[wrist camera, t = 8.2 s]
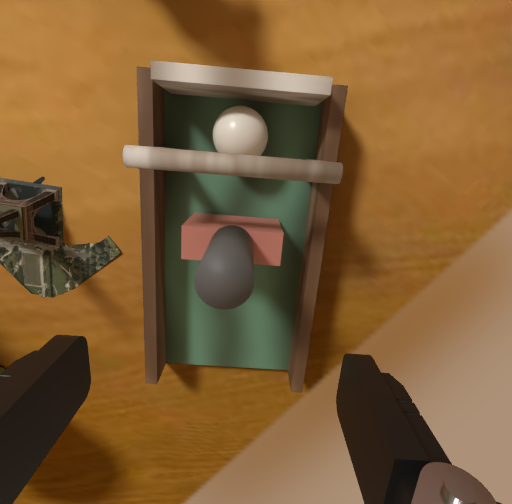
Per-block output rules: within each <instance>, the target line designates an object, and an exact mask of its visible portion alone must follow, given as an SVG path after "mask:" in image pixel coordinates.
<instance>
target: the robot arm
mask: <svg viewBox="0 0 512 504" xmlns="http://www.w3.org/2000/svg"><path fill="white" fill-rule="evenodd" d="M90 384H91V374H90V365H89V355H88V346H87V340H86V338H85V337H83V336H70V335H56V336H54V337H53V338H52V339H51V340H50V341H49V342H47V343H46V344H45V345H44V346H43V347H42V348H41V349H40V350H39V351H33V352H31V353H29V354H27V355H26V356H24V357H22V358H20V359H18V360H16V361H15V362H13V363H12V364H11V365H10V366H9V367H8V368H6V369H5V370H4V371H3V372H2V373H1V374H0V504H13V502H14V501H15V500H16V498H17V497H18V495H19V494H20V492H21V491H22V489H23V488H24V487H25V485H26V484H27V482H28V481H29V479H30V478H31V477H32V475H33V474H34V472H35V471H36V469H37V468H38V467H39V465H40V464H41V462H42V461H43V459H44V458H45V457H46V455H47V454H48V452H49V451H50V449H51V448H52V447H53V445H54V444H55V442H56V441H57V439H58V438H59V437H60V435H61V434H62V432H63V431H64V429H65V428H66V426H67V425H68V424H69V422H70V421H71V419H72V418H73V416H74V415H75V414H76V412H77V411H78V409H79V408H80V406H81V405H82V404H83V402H84V401H85V399H86V397H87V395H88V392H89V389H90ZM336 398H337V399H336V403H337V413H338V417H339V421H340V424H341V427H342V430H343V434H344V437H345V441H346V444H347V447H348V450H349V454H350V457H351V460H352V463H353V467H354V470H355V474H356V477H357V480H358V484H359V487H360V490H361V493H362V496H363V500H364V503H365V504H501V503H498V502H496V501H495V499H494V498H493V496H492V495H491V493H490V492H489V491H488V490H487V489H486V488H485V487H484V485H483V484H482V483H481V482H479V481H478V480H477V479H476V478H475V477H473V476H472V475H470V474H469V473H468V472H466V471H464V470H463V469H461V468H458V467H456V466H454V465H452V464H451V462H450V461H449V459H448V458H447V456H446V454H445V452H444V451H443V449H442V448H441V446H440V444H439V443H438V441H437V440H436V438H435V436H434V435H433V433H432V432H431V430H430V428H429V427H428V425H427V424H426V422H425V420H424V419H423V417H422V416H420V413H419V411H418V409H417V407H416V406H415V404H414V403H412V399H411V398H410V396H409V394H408V393H407V391H406V390H405V388H404V386H403V385H401V383H399V382H398V381H397V380H396V379H395V378H394V377H393V376H391V375H390V374H389V373H381V372H380V370H379V368H378V366H377V365H376V363H375V361H374V359H373V358H372V357H371V356H370V355H361V354H345V355H344V357H343V362H342V367H341V373H340V379H339V384H338V390H337V397H336Z"/></svg>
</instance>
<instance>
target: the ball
mask: <svg viewBox="0 0 512 504" xmlns="http://www.w3.org/2000/svg"><path fill="white" fill-rule="evenodd" d="M267 141H268V130H267V126H266V123H265V121H264V120H263V118H262V117H261V115H260V114H259V113H258V112H256V111H255V110H253V109H252V108H249V107H246V106H234V107H230V108H228V109H226V110H225V111H224V112H222V113H221V114H220V115H219V117H218V118H217V120H216V122H215V124H214V128H213V142H214V145H215V148H216V150H217V151H218V152H219V153H231V154H243V155H255V156H261V154H262V153H263V151H264V150H265V148H266V145H267Z"/></svg>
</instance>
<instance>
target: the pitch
mask: <svg viewBox="0 0 512 504" xmlns="http://www.w3.org/2000/svg"><path fill="white" fill-rule="evenodd" d="M332 80H333V77H327V76H316V75H305V74H294V73H283V72H272V71H261V70H250V69H240V68H229V67H218V66H207V65H196V64H185V63H174V62H163V61H153V60H151V68H146V67H137V93H138V128H139V146H134V145H125V146H124V149H123V162H124V165H125V166H126V167H130V168H140V199H141V234H142V270H143V305H144V340H145V376H146V384H157V383H158V381H159V378H160V376H161V373H162V371H163V369H164V366H165V364H166V363H177V364H193V365H210V366H227V367H244V368H260V369H277V370H288V375H289V381H290V387H291V392H302V391H303V384H304V377H305V371H306V364H307V357H308V350H309V344H310V337H311V330H312V324H313V317H314V310H315V303H316V297H317V290H318V283H319V276H320V270H321V263H322V256H323V250H324V243H325V236H326V229H327V223H328V216H329V209H330V202H331V196H332V189H333V184H340V182H341V179H342V175H343V164H342V163H340V162H337V155H338V149H339V142H340V135H341V128H342V122H343V115H344V108H345V102H346V95H347V88H348V86H344V85H332ZM234 106H246V107H249V108H252V109H253V110H255V111H256V112H258V113H259V114H260V115H261V117H262V118H263V120H264V121H265V123H266V126H267V130H268V141H267V145H266V148H265V150H264V151H263V153H262V154H261V156H255V155H243V154H231V153H219V152H218V151H217V150H216V148H215V145H214V142H213V128H214V124H215V122H216V120H217V118H218V117H219V115H220V114H221V113H222V112H224V111H225V110H226V109H228V108H230V107H234ZM193 213H207V214H220V215H233V216H247V217H260V218H273V219H278V220H279V223H280V225H281V228H282V230H283V233H284V235H283V244H282V253H281V263H280V266H273V265H259V264H254V287H253V291H252V293H251V295H250V297H249V298H248V299H247V301H246V302H244V303H243V304H242V305H240V306H238V307H236V308H233V309H227V310H222V309H216V308H213V307H211V306H209V305H207V304H206V303H204V302H203V301H202V300H201V299H200V297H199V296H198V294H197V292H196V290H195V286H194V276H195V273H196V270H197V268H198V266H199V264H200V262H201V260H188V259H181V231H182V225H183V224H184V223H185V222H186V221H187V220H188V219H189V217H190V216H191V215H192V214H193Z"/></svg>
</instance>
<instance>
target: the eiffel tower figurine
mask: <svg viewBox="0 0 512 504" xmlns="http://www.w3.org/2000/svg"><path fill="white" fill-rule="evenodd" d="M44 180H45V178H44V177H41V178H39V179H38V180H36V181H35V182H33V183H30V182H23V181H17V180H10V179H4V178H0V264H1V265H2V266H3V267H4V268H5V269H6V270H7V271H9V272H10V273H11V274H12V275H13V276H14V277H15V278H16V279H17V280H18V281H19V282H20V283H21V284H22V285H23V286H24V287H25V288H26V289H27V290H28V291H29V292H30V293H32V294H38V295H41V296H43V297H47V296H48V297H52V298H53V297H55V296H57V295H60V294H63V293H65V292H68V291H69V290H73V289H75V288H76V287H77V286H78V285H80V284H81V283H82V282H84V281H85V280H86V279H88V278H89V277H90V276H91V275H93V274H94V273H95V272H97V271H98V270H99V269H100V268H102V267H103V266H104V265H106V264H107V263H108V262H109V261H111V260H112V259H113V258H115V257H116V256H117V255H119V254H120V253H121V252H120V250H119V249H118V248H117V246H116V245H115V244H114V242H113V241H112V240H111V238H110V237H109V236H108V237H106V238H105V239H104V240H102V241H101V242H99V243H96V244H89V243H88V244H79V245H67V244H65V243H63V214H62V187H56V186H49V185H43V184H41V183H42V182H43V181H44Z"/></svg>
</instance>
